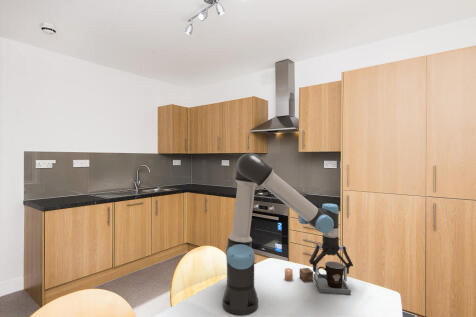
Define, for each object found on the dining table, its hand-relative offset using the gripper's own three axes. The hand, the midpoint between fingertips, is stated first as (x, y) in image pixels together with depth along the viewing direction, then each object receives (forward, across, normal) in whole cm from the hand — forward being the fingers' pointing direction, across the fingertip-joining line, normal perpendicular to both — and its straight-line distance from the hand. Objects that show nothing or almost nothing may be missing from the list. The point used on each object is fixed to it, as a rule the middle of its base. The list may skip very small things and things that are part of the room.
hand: (330, 279), depth 120 cm
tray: (+3, 0, 0) cm, 3 cm away
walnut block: (+3, -11, +5) cm, 13 cm away
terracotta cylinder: (+3, -20, +4) cm, 21 cm away
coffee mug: (+3, 0, 0) cm, 3 cm away
